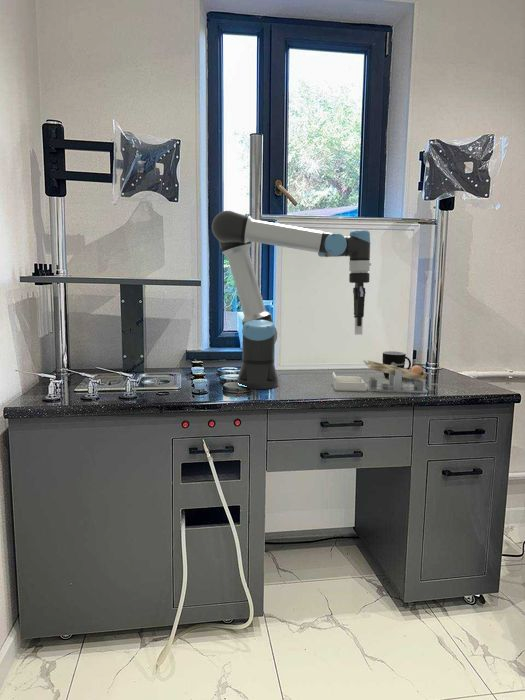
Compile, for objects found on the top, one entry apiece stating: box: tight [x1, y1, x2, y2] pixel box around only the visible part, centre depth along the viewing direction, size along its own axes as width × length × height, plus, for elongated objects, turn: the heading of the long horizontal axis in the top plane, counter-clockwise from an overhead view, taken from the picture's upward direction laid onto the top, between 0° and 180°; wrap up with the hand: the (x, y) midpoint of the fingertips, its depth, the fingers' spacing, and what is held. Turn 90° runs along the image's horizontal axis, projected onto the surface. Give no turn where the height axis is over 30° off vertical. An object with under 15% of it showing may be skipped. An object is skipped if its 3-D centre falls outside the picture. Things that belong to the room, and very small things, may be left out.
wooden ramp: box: [363, 359, 428, 383], centre depth 189 cm, size 20×16×4 cm
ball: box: [410, 364, 424, 375], centre depth 184 cm, size 4×4×4 cm
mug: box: [382, 350, 412, 379], centre depth 206 cm, size 12×9×10 cm
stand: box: [365, 365, 429, 394], centre depth 185 cm, size 21×11×8 cm, turn 87°
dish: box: [331, 371, 368, 392], centre depth 186 cm, size 11×11×4 cm
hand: (358, 334), depth 196 cm, fingers closed
